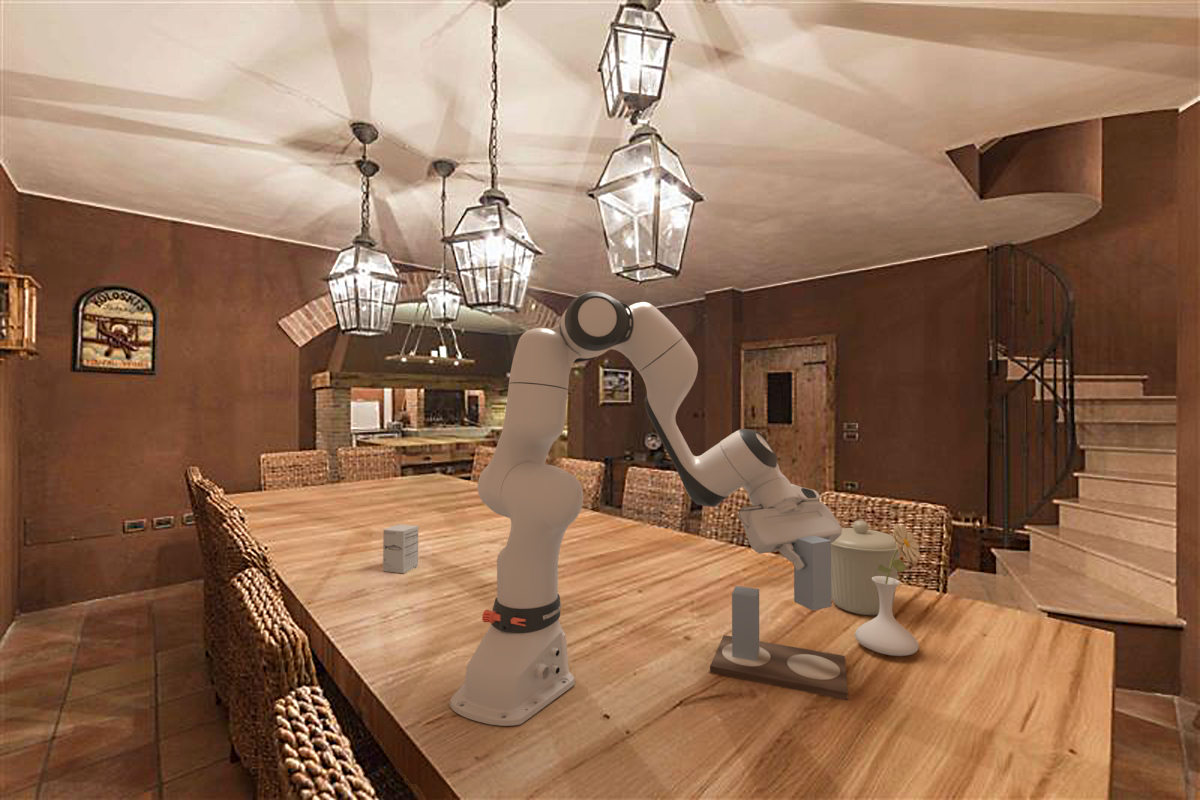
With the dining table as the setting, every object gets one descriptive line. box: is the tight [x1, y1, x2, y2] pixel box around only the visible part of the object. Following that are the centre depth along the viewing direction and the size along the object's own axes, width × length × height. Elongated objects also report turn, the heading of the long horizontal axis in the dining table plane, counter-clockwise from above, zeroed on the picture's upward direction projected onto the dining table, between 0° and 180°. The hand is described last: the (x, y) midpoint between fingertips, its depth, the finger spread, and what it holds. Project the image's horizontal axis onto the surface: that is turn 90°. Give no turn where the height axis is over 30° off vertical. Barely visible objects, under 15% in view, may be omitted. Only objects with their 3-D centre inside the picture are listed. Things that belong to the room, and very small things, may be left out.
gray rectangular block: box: [793, 536, 833, 612], centre depth 96 cm, size 4×4×12 cm
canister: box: [831, 519, 901, 616], centre depth 127 cm, size 18×18×21 cm
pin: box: [731, 585, 760, 661], centre depth 101 cm, size 4×4×12 cm
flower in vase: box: [854, 523, 921, 657], centre depth 106 cm, size 13×11×25 cm
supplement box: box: [382, 523, 419, 574], centre depth 157 cm, size 7×7×13 cm
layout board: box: [709, 634, 849, 701], centre depth 99 cm, size 14×23×1 cm, turn 67°
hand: (815, 566), depth 96 cm, fingers closed on gray rectangular block, 4 cm apart
